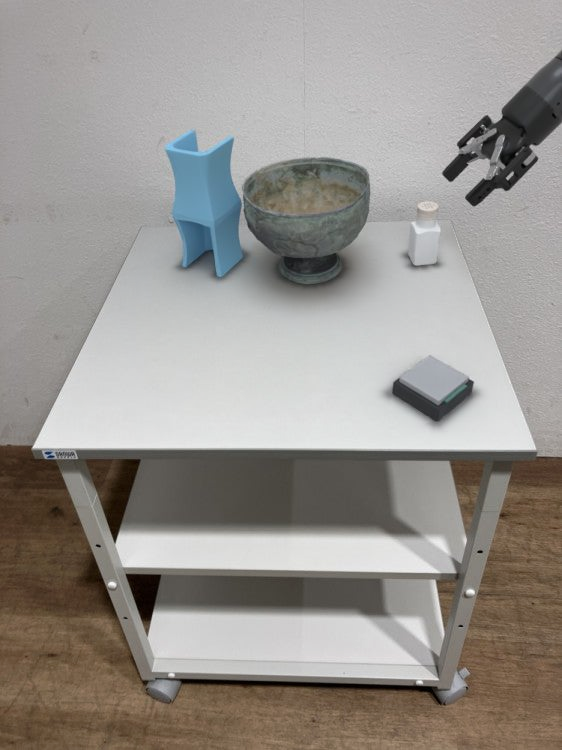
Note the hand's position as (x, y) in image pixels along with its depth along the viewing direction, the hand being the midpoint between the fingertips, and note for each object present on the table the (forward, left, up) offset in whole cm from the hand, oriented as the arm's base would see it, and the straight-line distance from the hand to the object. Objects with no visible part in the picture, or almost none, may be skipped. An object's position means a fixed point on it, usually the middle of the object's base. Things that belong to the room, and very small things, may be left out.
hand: (457, 190), depth 94 cm
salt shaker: (+2, +4, -12) cm, 12 cm away
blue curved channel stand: (+27, +27, -12) cm, 40 cm away
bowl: (+14, +18, -12) cm, 26 cm away
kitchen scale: (-18, +28, -11) cm, 35 cm away
